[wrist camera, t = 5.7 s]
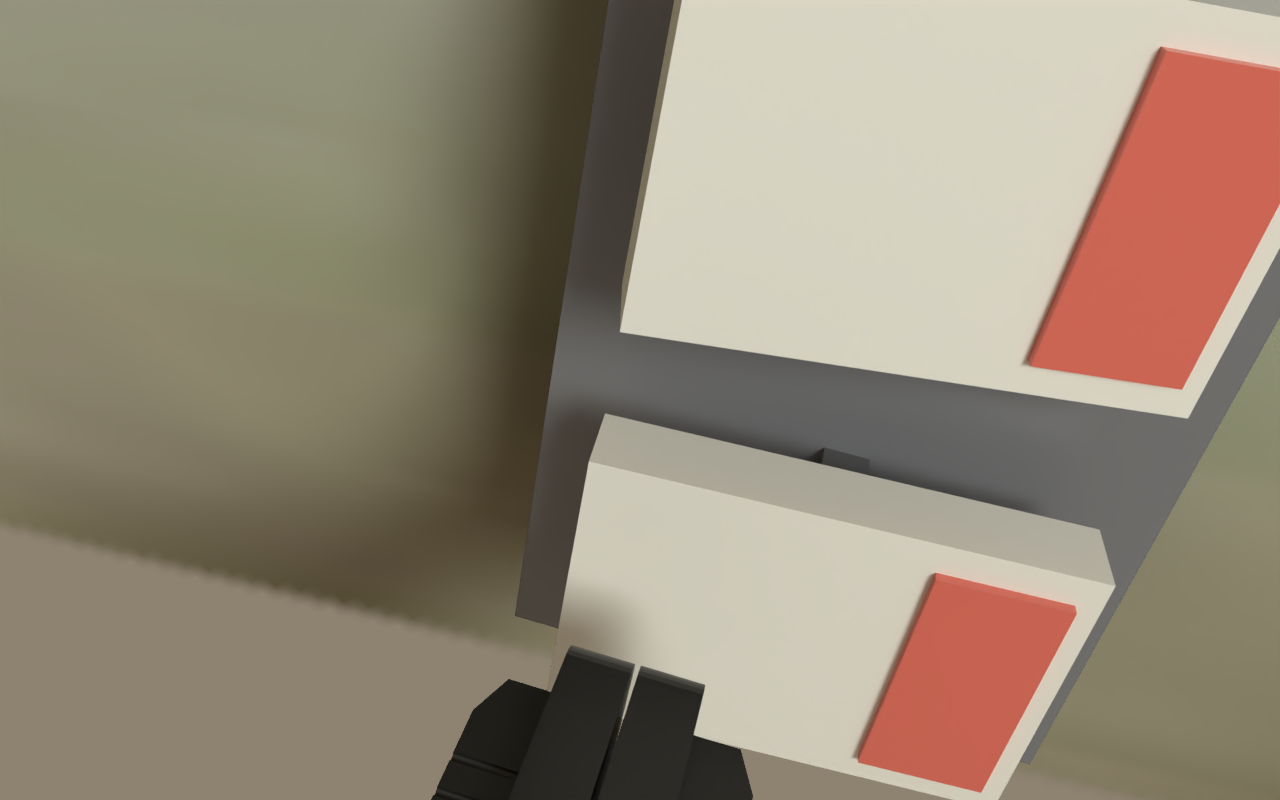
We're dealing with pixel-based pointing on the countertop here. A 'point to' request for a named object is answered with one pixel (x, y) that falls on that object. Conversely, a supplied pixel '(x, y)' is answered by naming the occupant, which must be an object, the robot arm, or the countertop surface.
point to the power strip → (833, 388)
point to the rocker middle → (965, 189)
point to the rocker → (830, 606)
